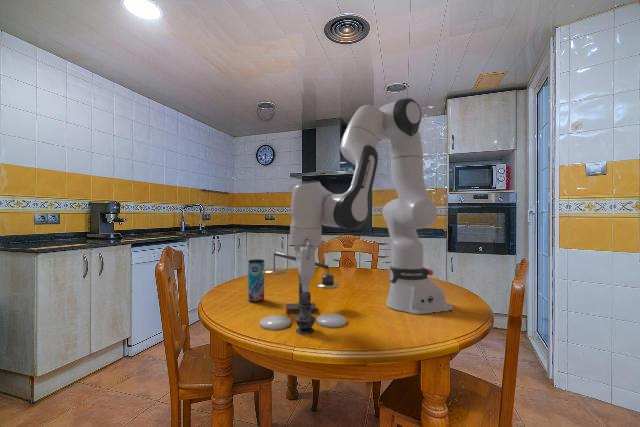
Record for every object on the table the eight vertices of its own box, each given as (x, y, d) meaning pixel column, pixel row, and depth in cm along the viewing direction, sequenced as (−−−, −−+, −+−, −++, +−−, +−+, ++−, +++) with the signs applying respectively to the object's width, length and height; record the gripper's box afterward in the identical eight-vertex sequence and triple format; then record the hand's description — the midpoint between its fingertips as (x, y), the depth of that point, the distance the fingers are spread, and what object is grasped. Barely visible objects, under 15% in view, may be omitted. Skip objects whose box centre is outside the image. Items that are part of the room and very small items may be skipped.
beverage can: (246, 302, 112) (246, 261, 112) (250, 298, 118) (250, 259, 118) (262, 302, 112) (262, 262, 112) (265, 298, 118) (265, 259, 118)
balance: (336, 305, 110) (337, 249, 110) (341, 312, 102) (342, 252, 102) (262, 307, 107) (262, 250, 107) (260, 315, 99) (261, 253, 99)
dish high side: (289, 318, 96) (289, 315, 96) (290, 329, 88) (290, 325, 87) (260, 319, 95) (260, 316, 95) (258, 330, 86) (258, 326, 86)
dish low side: (342, 316, 99) (343, 313, 99) (349, 327, 90) (349, 323, 90) (315, 317, 97) (315, 314, 97) (318, 328, 89) (318, 324, 89)
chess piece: (313, 335, 83) (313, 291, 83) (292, 333, 84) (292, 290, 84) (317, 327, 89) (318, 286, 89) (297, 326, 90) (298, 285, 90)
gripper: (321, 241, 76) (319, 297, 76) (313, 235, 97) (311, 279, 97) (296, 241, 76) (294, 297, 76) (293, 235, 96) (291, 279, 96)
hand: (304, 287), depth 86 cm, fingers open, 8 cm apart
